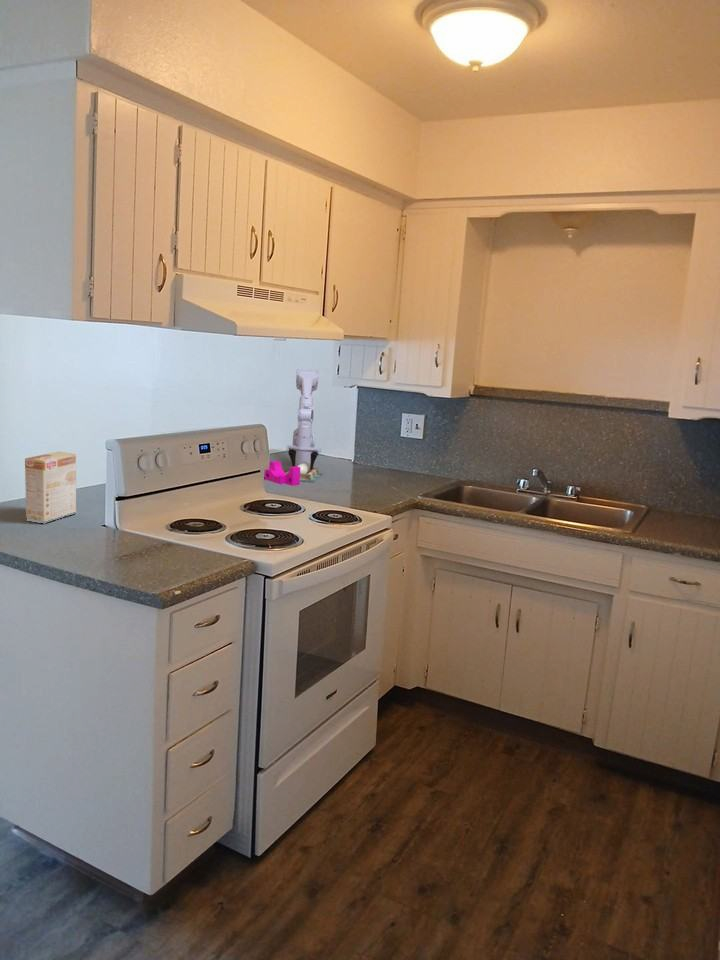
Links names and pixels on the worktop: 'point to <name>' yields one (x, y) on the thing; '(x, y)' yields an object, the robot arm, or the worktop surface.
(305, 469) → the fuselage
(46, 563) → the worktop surface
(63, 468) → the coffeecake box
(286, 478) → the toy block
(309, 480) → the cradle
